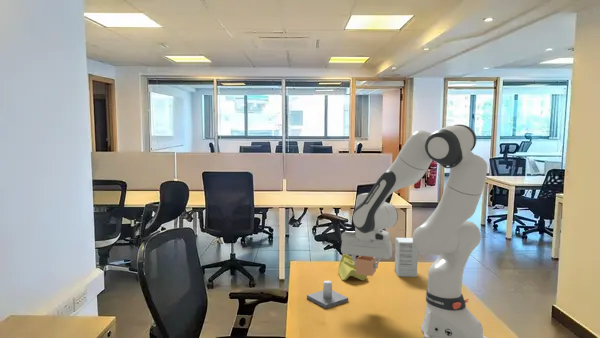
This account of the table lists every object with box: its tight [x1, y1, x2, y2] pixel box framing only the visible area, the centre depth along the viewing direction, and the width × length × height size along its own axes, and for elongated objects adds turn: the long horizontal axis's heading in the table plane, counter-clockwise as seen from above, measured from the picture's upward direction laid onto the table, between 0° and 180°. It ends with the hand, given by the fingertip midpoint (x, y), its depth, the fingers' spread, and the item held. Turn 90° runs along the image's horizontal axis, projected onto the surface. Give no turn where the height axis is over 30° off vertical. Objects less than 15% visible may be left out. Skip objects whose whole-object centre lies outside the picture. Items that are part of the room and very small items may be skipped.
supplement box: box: [394, 237, 419, 278], centre depth 205 cm, size 10×9×17 cm
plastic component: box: [338, 253, 368, 281], centre depth 204 cm, size 20×7×10 cm
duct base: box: [306, 280, 349, 309], centre depth 172 cm, size 12×12×8 cm
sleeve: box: [356, 256, 377, 277], centre depth 168 cm, size 6×6×6 cm
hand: (366, 266), depth 168 cm, fingers closed on sleeve, 6 cm apart
